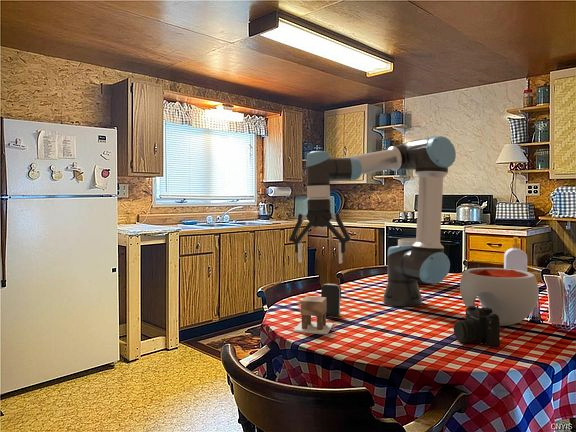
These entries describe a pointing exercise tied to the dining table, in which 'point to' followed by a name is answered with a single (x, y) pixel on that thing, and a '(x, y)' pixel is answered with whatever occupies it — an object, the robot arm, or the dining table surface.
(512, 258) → the soap bottle
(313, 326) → the mat
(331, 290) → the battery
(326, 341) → the dining table surface
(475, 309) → the camera
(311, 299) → the stool
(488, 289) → the pot
